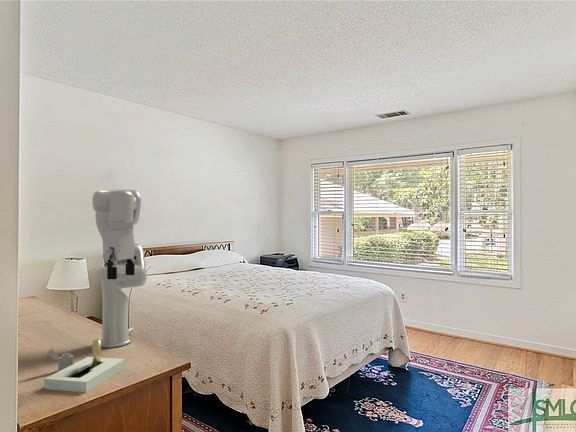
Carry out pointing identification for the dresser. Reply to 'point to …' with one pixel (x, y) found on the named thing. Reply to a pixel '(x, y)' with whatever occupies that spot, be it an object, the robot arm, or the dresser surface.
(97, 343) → the peg
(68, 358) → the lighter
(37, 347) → the dresser surface
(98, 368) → the board
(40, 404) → the dresser surface
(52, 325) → the dresser surface
